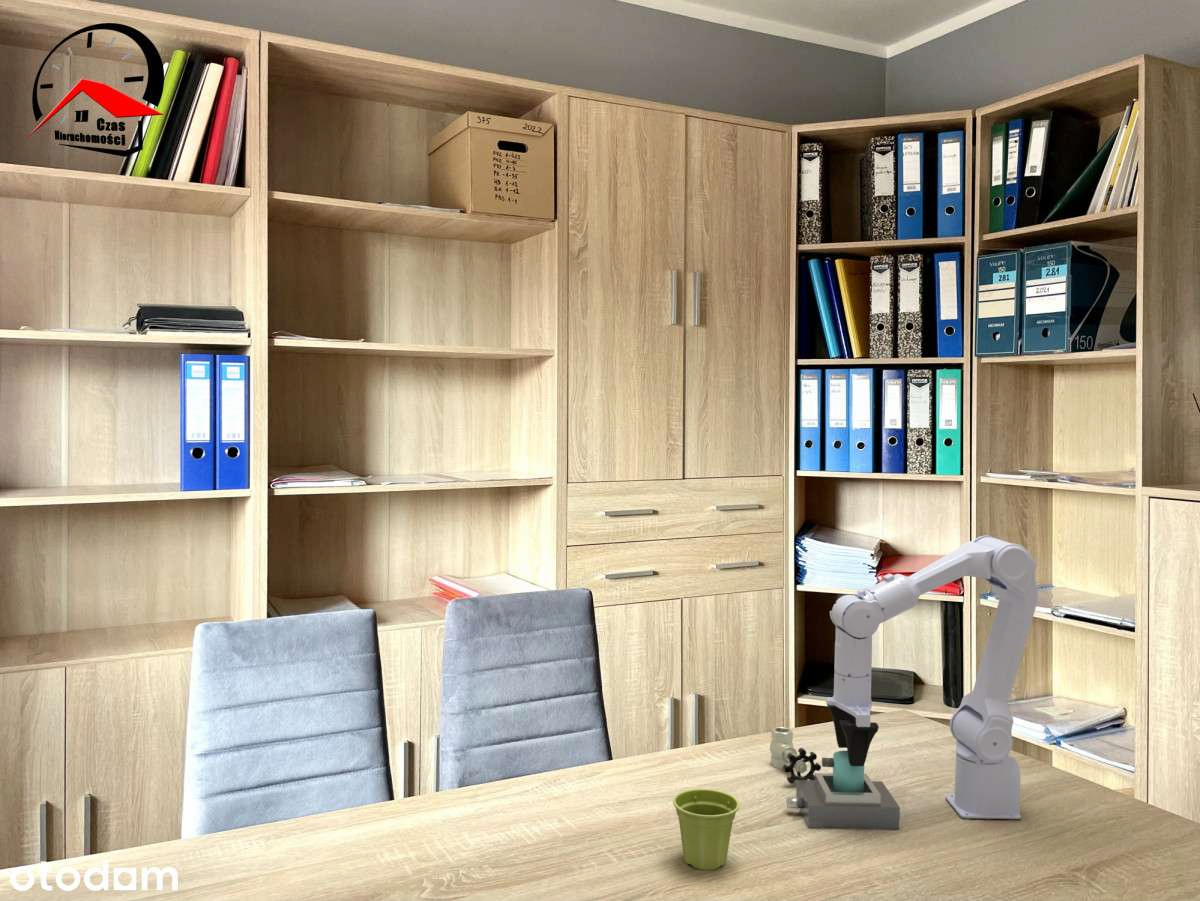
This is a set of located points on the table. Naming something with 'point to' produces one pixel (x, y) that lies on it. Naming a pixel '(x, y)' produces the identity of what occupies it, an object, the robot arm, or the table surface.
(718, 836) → the plant pot
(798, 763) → the valve
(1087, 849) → the table surface
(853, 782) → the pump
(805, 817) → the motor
